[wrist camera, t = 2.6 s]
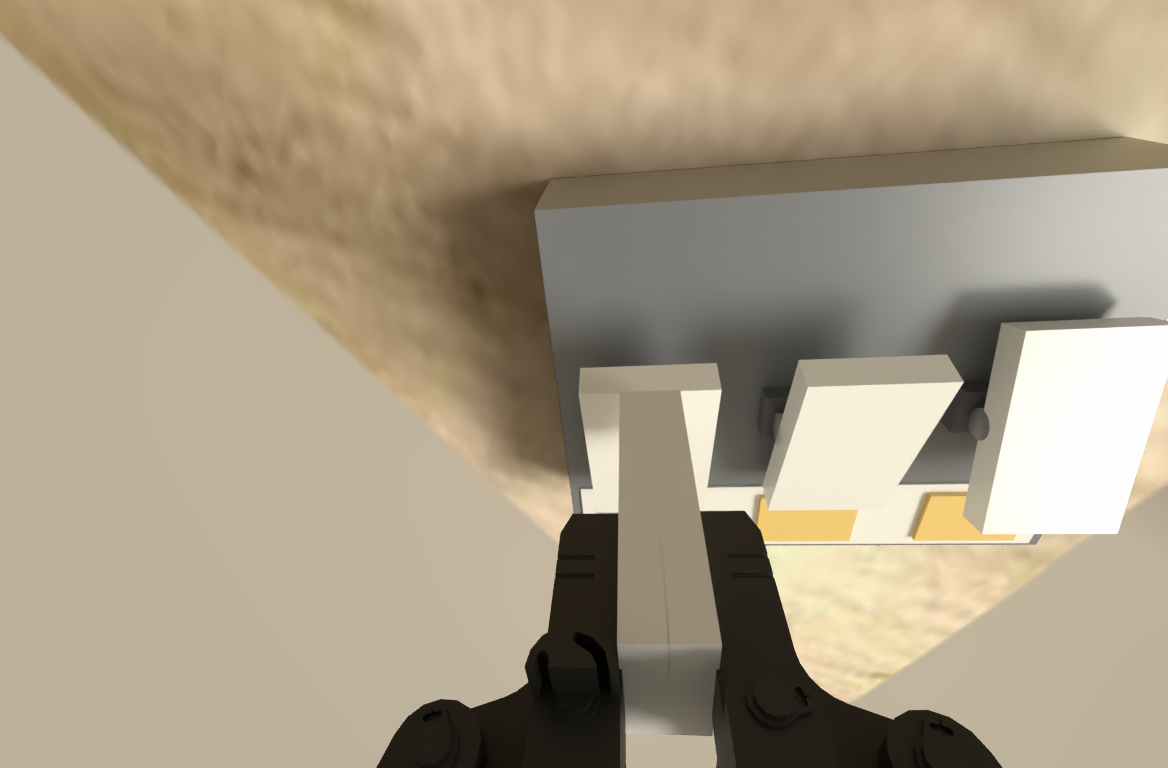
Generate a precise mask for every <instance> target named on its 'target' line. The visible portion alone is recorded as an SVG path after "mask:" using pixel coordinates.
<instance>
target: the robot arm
mask: <svg viewBox="0 0 1168 768" xmlns="http://www.w3.org/2000/svg"><path fill="white" fill-rule="evenodd" d="M555 575H556V578H555V582H554V589H553V597H552V604H551V613H550V621H549V628H548V633H546V634H544V635H543V636H542V637H541V638H540V639H539V640H538V641H537V643H536V644H535V645H534V646H533V647H532V649H531V650H530V653H529V656H528V659H527V662H526V664H525V670H526V673H527V677H528V683H527V684H526V685H524V686H523V687H522V688H521V689H519V690H518V691H517V692H514V693H512V694H510V695H508V696H506V697H504V698H501V699H498V700H495V701H492V702H489V703H486V704H483V705H480V706H477V707H474V708H471V709H470V708H469V707H467V706H465V705H464V704H462V703H461V702H459V701H457V700H445V699H440V700H437V701H434V702H431V703H428V704H425V705H423V706H421V707H420V708H419V709H417V710H416V711H415V712H413V713H412V714H411V715H410V716H408V717H407V719H406V720H405V721H404V722H403V724H402V725H401V726H400V728H399V729H398V730H397V732H396V733H395V735H394V737H393V738H392V740H391V742H390V744H389V746H388V748H387V749H386V751H385V753H384V755H383V757H382V758H381V760H380V762H379V764H378V766H377V768H626V749H625V748H626V738H625V737H626V733H633V734H634V733H635V734H665V735H700V736H712V734H713V730H714V738H715V745H716V753H717V766H716V768H1002V767H1001V765H1000V764H999V763H998V761H997V760H996V759H995V757H994V756H993V755H992V753H991V752H990V751H989V750H988V749H987V748H986V747H985V745H983V743H982V742H981V741H980V740H979V739H978V738H977V737H976V736H975V735H974V734H973V733H972V732H971V731H970V730H968V729H967V728H965V727H964V726H962V725H960V724H959V723H957V722H956V721H954V720H953V719H951V718H950V717H947V716H944V715H941V714H938V713H935V712H932V711H929V710H909V711H907V712H905V713H903V714H901V715H900V716H898V717H896V718H894V720H892V719H889V718H887V717H884V716H881V715H878V714H875V713H872V712H869V711H867V710H864V709H861V708H858V707H855V706H852V705H850V704H847V703H845V702H843V701H841V700H839V699H837V698H834V697H833V696H831V695H830V694H829V693H827V692H826V691H824V690H823V689H821V688H820V687H819V686H818V685H817V684H816V683H815V682H814V681H813V680H812V679H811V678H810V677H809V676H808V674H807V673H806V671H805V670H804V668H803V667H802V666H801V664H800V662H799V660H798V657H797V655H796V652H795V650H794V646H793V643H792V639H791V635H790V632H789V628H788V625H787V621H786V618H785V614H784V611H783V607H782V604H781V600H780V597H779V593H778V590H777V586H776V582H775V579H774V578H773V572H772V568H771V565H770V561H769V558H768V557H767V551H766V547H765V544H764V540H763V537H762V533H761V530H760V529H759V528H758V526H757V525H756V524H755V523H754V521H753V520H752V519H751V518H750V517H749V515H748V514H747V513H746V512H745V511H700V508H699V502H698V496H697V490H696V483H695V477H694V471H693V465H692V459H691V453H690V447H689V441H688V435H687V429H686V423H685V417H684V411H683V404H682V398H681V392H680V390H666V391H636V392H620V406H619V502H618V513H596V514H572V516H571V518H570V519H569V521H568V522H567V524H566V525H565V527H564V529H563V530H562V532H561V534H560V542H559V551H558V560H557V566H556V574H555Z"/></svg>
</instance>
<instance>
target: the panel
mask: <svg viewBox="0 0 1168 768" xmlns="http://www.w3.org/2000/svg"><path fill="white" fill-rule="evenodd" d="M534 214H535V221H536V229H537V237H538V244H539V252H540V260H541V267H542V275H543V282H544V290H545V298H546V305H547V313H548V320H549V328H550V336H551V343H552V351H553V359H554V366H555V374H556V381H557V389H558V397H559V404H560V412H561V420H562V427H563V435H564V442H565V450H566V458H567V465H568V473H569V480H570V488H571V496H572V503H573V511H574V514H596V513H618V512H596V505H595V498H594V492H593V485H592V479H591V472H590V466H589V459H588V453H587V446H586V440H585V433H584V427H583V420H582V414H581V407H580V401H579V379H580V368H593V367H621V366H648V365H675V364H702V363H717V367H718V373H719V378H720V384H721V389H722V391H721V398H720V404H719V411H718V418H717V425H716V432H715V439H714V445H713V452H712V459H711V466H710V473H709V479H708V486H707V493H706V500H705V507H704V511H745V512H746V513H747V514H748V515H749V517H750V518H751V519H752V520H753V521H754V523H755V524H756V525H757V526H758V528H759V529H760V530H761V533H762V537H763V540H764V544H765V545H1036V544H1037V542H1038V540H1039V539H1040V537H1041V535H1042V534H981V533H980V532H979V531H978V530H977V529H976V528H975V527H974V526H973V525H972V524H971V523H970V522H969V521H968V520H967V519H966V518H964V517H963V511H964V506H965V501H966V496H967V491H968V486H969V481H970V476H971V471H972V467H973V462H974V457H975V452H976V447H977V442H978V440H976V439H975V438H974V437H973V436H972V434H971V433H970V430H969V426H968V419H969V415H970V413H971V411H972V410H973V409H975V408H984V407H985V402H986V397H987V392H988V387H989V382H990V377H991V372H992V367H993V362H994V357H995V352H996V347H997V342H998V337H999V332H1000V327H1001V323H1010V322H1034V321H1058V320H1082V319H1106V318H1129V317H1151V318H1155V319H1160V320H1164V321H1167V319H1168V145H1167V144H1162V143H1157V142H1152V141H1146V140H1141V139H1136V138H1130V137H1119V138H1105V139H1092V140H1078V141H1064V142H1051V143H1037V144H1023V145H1009V146H996V147H982V148H968V149H954V150H941V151H927V152H913V153H899V154H886V155H872V156H858V157H844V158H831V159H817V160H803V161H789V162H776V163H762V164H748V165H734V166H721V167H707V168H693V169H679V170H666V171H652V172H638V173H624V174H611V175H597V176H583V177H569V178H556V179H550V181H549V183H548V185H547V187H546V189H545V191H544V193H543V195H542V196H541V198H540V200H539V202H538V204H537V206H536V208H535V210H534ZM920 355H948V357H949V359H950V360H951V362H952V363H953V365H954V367H955V368H956V370H957V371H958V373H959V375H960V376H961V378H962V380H963V381H964V383H963V384H962V386H961V388H960V389H959V391H958V392H957V394H956V395H955V397H954V398H953V400H952V402H951V403H950V405H949V406H948V408H947V409H946V411H945V412H944V414H943V416H942V417H941V419H940V420H939V422H938V423H937V425H936V427H935V428H934V430H933V431H932V433H931V434H930V436H929V437H928V439H927V441H926V442H925V444H924V445H923V447H922V448H921V450H920V451H919V453H918V455H917V456H916V458H915V459H914V461H913V462H912V464H911V465H910V467H909V469H908V470H907V472H906V473H905V475H904V476H903V478H902V480H901V481H900V483H899V484H898V486H897V487H896V489H895V490H894V492H893V494H892V495H891V497H890V498H889V500H888V501H887V503H886V504H885V506H884V508H883V509H878V510H774V511H768V509H767V504H766V499H765V495H764V490H763V482H764V479H765V475H766V472H767V468H768V465H769V462H770V458H771V455H772V451H773V448H774V444H775V437H774V431H773V422H774V416H775V414H777V413H784V410H785V406H786V403H787V399H788V396H789V393H790V389H791V386H792V382H793V379H794V375H795V372H796V368H797V365H798V361H799V360H811V359H838V358H865V357H893V356H920Z"/></svg>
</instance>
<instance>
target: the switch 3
mask: <svg viewBox="0 0 1168 768" xmlns="http://www.w3.org/2000/svg"><path fill="white" fill-rule="evenodd" d="M1167 375H1168V321H1164V320H1160V319H1155V318H1151V317H1129V318H1106V319H1082V320H1058V321H1034V322H1010V323H1001V327H1000V332H999V337H998V342H997V347H996V352H995V357H994V362H993V367H992V372H991V377H990V382H989V387H988V392H987V397H986V402H985V407H984V408H975V409H973V410H972V411H971V413H970V415H969V419H968V426H969V430H970V433H971V434H972V436H973V437H974V438H975V439H976V440H978V442H977V447H976V452H975V457H974V462H973V467H972V471H971V476H970V481H969V486H968V491H967V496H966V501H965V506H964V511H963V517H964V518H966V519H967V520H968V521H969V522H970V523H971V524H972V525H973V526H974V527H975V528H976V529H977V530H978V531H979V532H980V533H981V534H1110V533H1111V534H1113V533H1116V534H1117V533H1118V530H1119V527H1120V524H1121V521H1122V517H1123V514H1124V511H1125V508H1126V505H1127V502H1128V498H1129V495H1130V492H1131V489H1132V486H1133V483H1134V480H1135V476H1136V473H1137V470H1138V467H1139V464H1140V461H1141V457H1142V454H1143V451H1144V448H1145V445H1146V442H1147V438H1148V435H1149V432H1150V429H1151V426H1152V423H1153V419H1154V416H1155V413H1156V410H1157V407H1158V404H1159V401H1160V397H1161V394H1162V391H1163V388H1164V385H1165V382H1166V378H1167Z"/></svg>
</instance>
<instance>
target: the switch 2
mask: <svg viewBox="0 0 1168 768" xmlns="http://www.w3.org/2000/svg"><path fill="white" fill-rule="evenodd" d="M963 383H964V381H963V380H962V378H961V376H960V375H959V373H958V371H957V370H956V368H955V367H954V365H953V363H952V362H951V360H950V359H949V357H948V355H920V356H893V357H865V358H838V359H811V360H799V361H798V365H797V368H796V372H795V375H794V379H793V382H792V386H791V389H790V393H789V396H788V399H787V403H786V406H785V410H784V413H777V414H775V416H774V422H773V431H774V437H775V444H774V448H773V451H772V455H771V458H770V462H769V465H768V468H767V472H766V475H765V479H764V482H763V490H764V495H765V499H766V504H767V509H768V511H774V510H878V509H883V508H884V506H885V504H886V503H887V501H888V500H889V498H890V497H891V495H892V494H893V492H894V490H895V489H896V487H897V486H898V484H899V483H900V481H901V480H902V478H903V476H904V475H905V473H906V472H907V470H908V469H909V467H910V465H911V464H912V462H913V461H914V459H915V458H916V456H917V455H918V453H919V451H920V450H921V448H922V447H923V445H924V444H925V442H926V441H927V439H928V437H929V436H930V434H931V433H932V431H933V430H934V428H935V427H936V425H937V423H938V422H939V420H940V419H941V417H942V416H943V414H944V412H945V411H946V409H947V408H948V406H949V405H950V403H951V402H952V400H953V398H954V397H955V395H956V394H957V392H958V391H959V389H960V388H961V386H962V384H963Z"/></svg>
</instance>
